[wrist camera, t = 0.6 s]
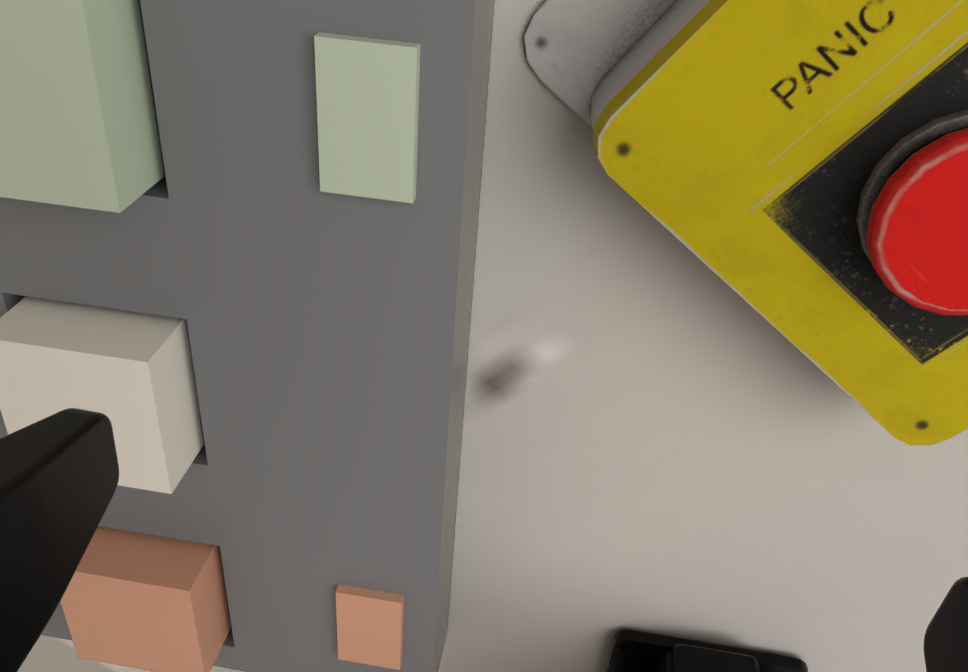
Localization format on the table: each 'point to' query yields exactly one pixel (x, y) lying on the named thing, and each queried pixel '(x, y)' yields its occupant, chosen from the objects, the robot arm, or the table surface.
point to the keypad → (301, 308)
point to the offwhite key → (106, 381)
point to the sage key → (76, 104)
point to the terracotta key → (148, 602)
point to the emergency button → (798, 170)
